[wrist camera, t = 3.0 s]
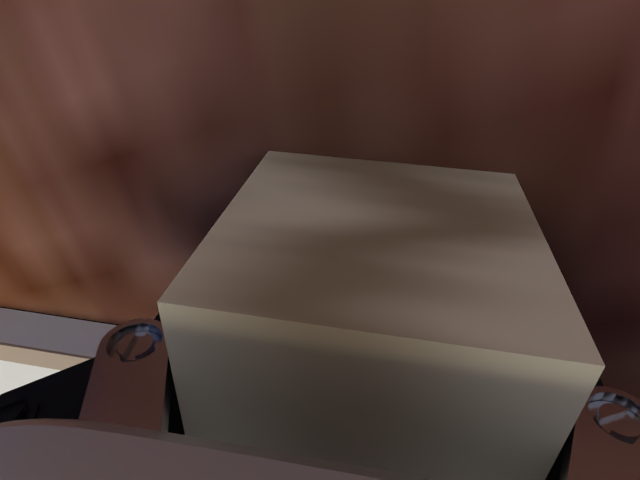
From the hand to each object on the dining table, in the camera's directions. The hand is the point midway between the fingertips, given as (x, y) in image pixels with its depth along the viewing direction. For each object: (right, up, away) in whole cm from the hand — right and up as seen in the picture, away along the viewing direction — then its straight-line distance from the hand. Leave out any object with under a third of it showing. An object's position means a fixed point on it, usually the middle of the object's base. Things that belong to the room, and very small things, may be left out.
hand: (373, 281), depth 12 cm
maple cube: (0, 0, +1) cm, 1 cm away
